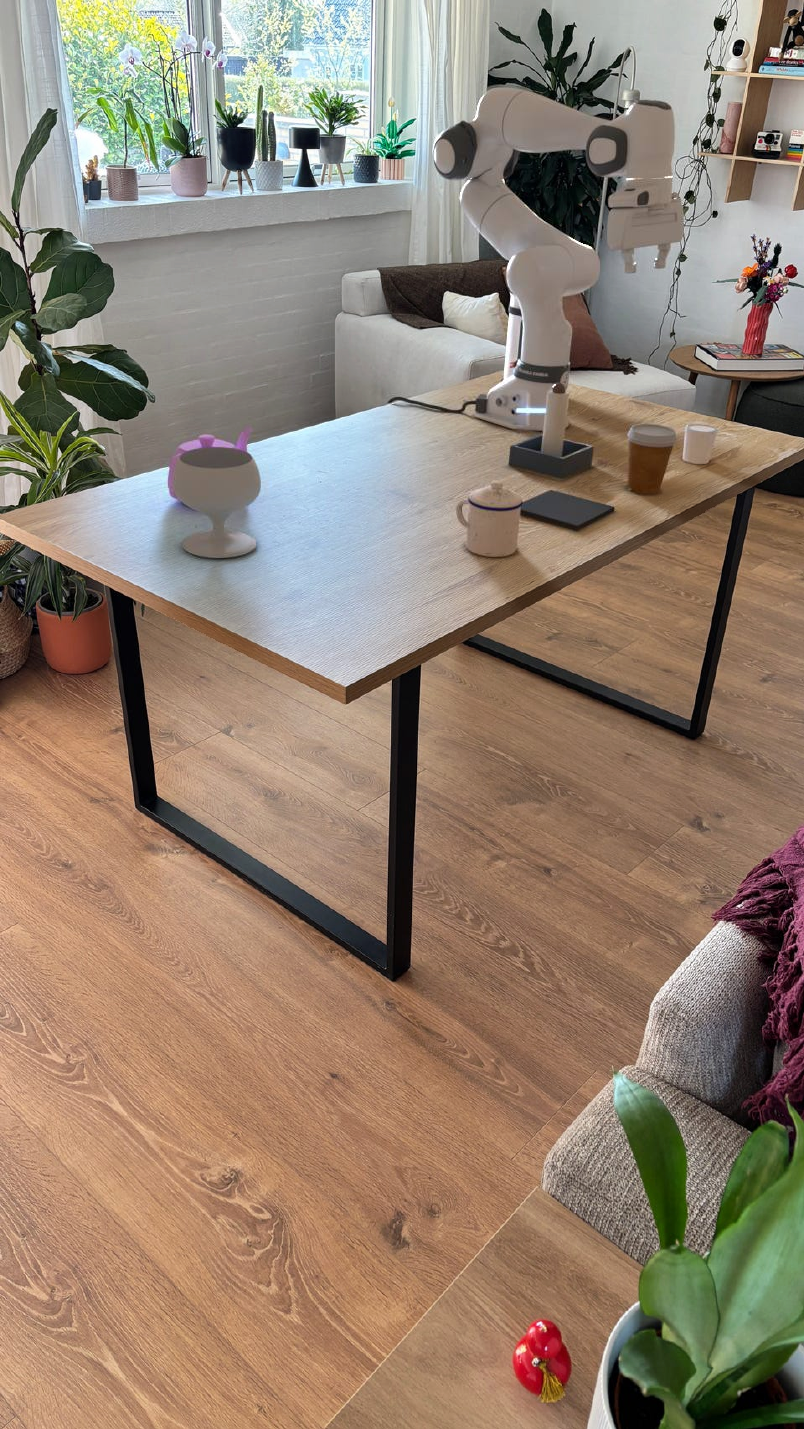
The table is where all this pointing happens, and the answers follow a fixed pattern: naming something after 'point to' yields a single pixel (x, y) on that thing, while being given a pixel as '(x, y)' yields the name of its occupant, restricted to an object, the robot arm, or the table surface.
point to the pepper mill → (555, 420)
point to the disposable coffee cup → (648, 456)
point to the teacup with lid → (491, 520)
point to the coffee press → (513, 336)
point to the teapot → (202, 443)
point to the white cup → (698, 443)
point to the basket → (551, 457)
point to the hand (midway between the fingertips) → (645, 270)
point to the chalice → (217, 496)
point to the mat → (564, 510)
